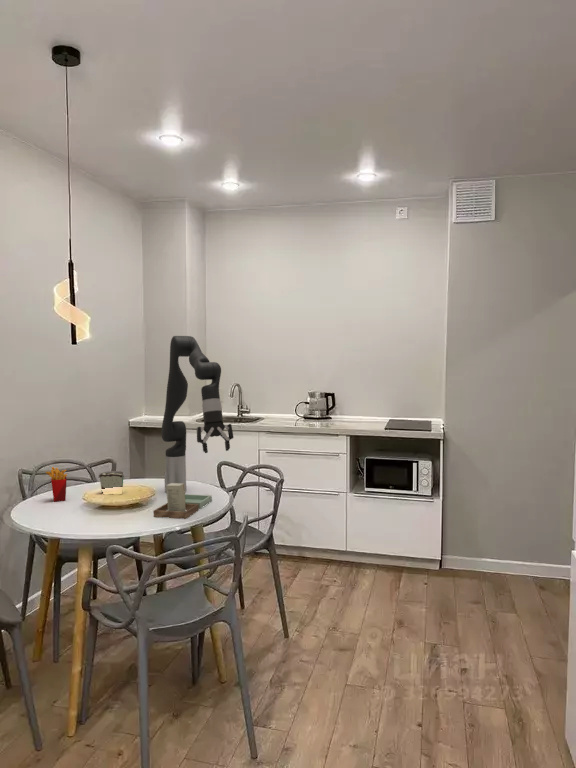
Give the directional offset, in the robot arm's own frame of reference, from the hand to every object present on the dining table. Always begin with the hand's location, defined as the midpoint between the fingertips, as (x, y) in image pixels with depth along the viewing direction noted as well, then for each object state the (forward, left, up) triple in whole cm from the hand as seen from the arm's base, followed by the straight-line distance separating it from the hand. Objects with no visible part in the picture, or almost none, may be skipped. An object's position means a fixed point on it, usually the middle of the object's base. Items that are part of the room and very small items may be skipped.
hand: (216, 451), depth 237 cm
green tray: (-19, +18, -26) cm, 37 cm away
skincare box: (-19, +3, -27) cm, 33 cm away
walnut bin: (-19, +3, -26) cm, 33 cm away
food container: (-63, +30, -27) cm, 75 cm away
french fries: (-81, +12, -27) cm, 86 cm away
